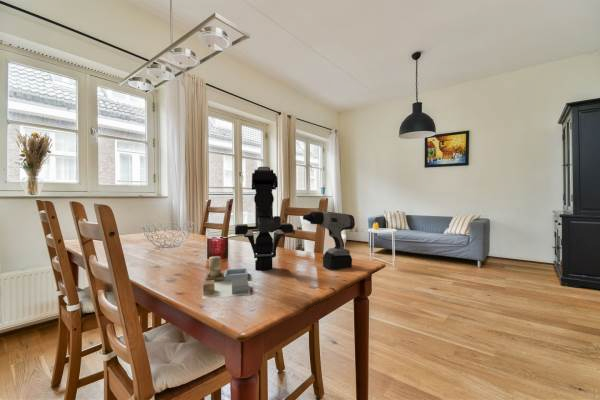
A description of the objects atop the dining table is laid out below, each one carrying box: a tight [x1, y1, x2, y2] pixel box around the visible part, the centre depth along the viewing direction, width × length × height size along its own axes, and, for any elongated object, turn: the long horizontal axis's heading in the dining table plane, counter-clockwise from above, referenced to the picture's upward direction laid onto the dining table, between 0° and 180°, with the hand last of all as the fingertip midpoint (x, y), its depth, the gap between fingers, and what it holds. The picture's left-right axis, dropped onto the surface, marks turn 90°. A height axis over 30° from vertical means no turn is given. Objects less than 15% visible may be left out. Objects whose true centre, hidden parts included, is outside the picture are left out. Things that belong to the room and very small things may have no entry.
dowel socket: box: [205, 271, 225, 282], centre depth 96 cm, size 6×6×2 cm
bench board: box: [201, 273, 251, 300], centre depth 91 cm, size 14×25×1 cm, turn 14°
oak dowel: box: [208, 255, 222, 278], centre depth 96 cm, size 4×4×8 cm
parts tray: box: [224, 267, 249, 281], centre depth 98 cm, size 8×8×2 cm
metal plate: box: [232, 278, 249, 294], centre depth 85 cm, size 5×7×2 cm
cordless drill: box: [302, 210, 356, 271], centre depth 115 cm, size 8×24×25 cm, turn 113°
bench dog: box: [202, 280, 214, 296], centre depth 83 cm, size 3×4×3 cm
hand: (264, 254), depth 87 cm, fingers open, 6 cm apart
